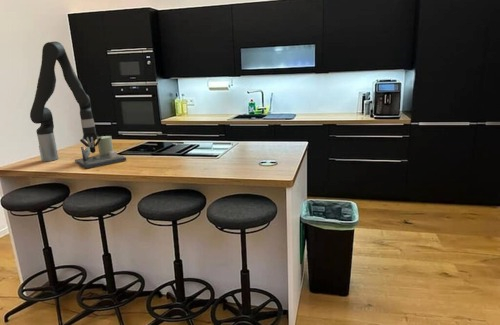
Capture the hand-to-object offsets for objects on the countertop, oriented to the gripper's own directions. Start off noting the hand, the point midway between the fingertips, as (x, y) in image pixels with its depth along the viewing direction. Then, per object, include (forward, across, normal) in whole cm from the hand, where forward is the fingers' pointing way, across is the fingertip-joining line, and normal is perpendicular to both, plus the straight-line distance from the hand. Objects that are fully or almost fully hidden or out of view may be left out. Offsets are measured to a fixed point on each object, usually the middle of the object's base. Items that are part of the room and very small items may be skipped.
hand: (93, 152), depth 227 cm
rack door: (+1, -3, -3) cm, 5 cm away
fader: (+2, +15, -13) cm, 19 cm away
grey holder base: (+4, +6, -11) cm, 13 cm away
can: (+4, +6, +10) cm, 12 cm away
